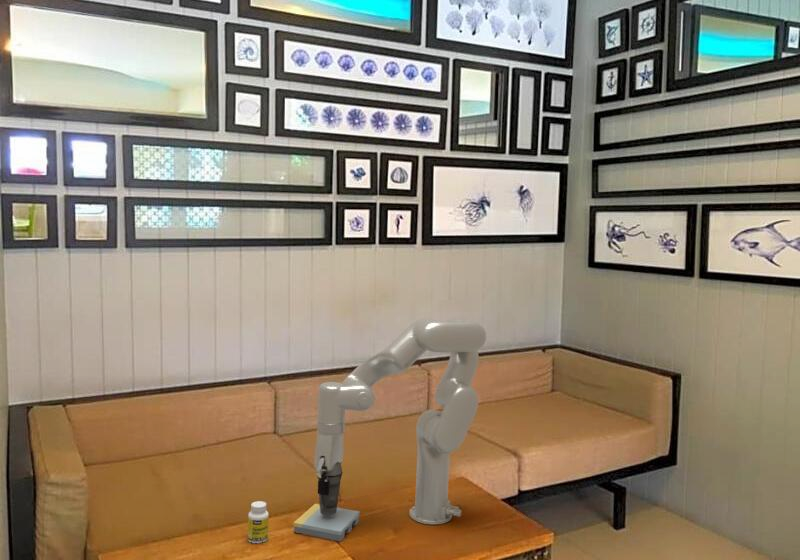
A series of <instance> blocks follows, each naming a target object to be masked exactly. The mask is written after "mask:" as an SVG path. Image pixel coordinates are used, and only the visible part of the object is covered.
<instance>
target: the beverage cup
mask: <svg viewBox="0 0 800 560" xmlns="http://www.w3.org/2000/svg"><path fill="white" fill-rule="evenodd" d="M341 464H342V463H341ZM341 464H340V463H339V462H337V463H336V464H335V466H334V468H333V469H332V470H331V471H330V474H329V479H328V481H330V482H329V495H321V494H318V500H319V503H318V504H320V513H321V514H322V515H326V516H331V515H334V514H336V510H337V507H338V503H339V495H340V487H341V479H342V476H343V467H342V465H341ZM323 469H327V467H323ZM322 472H323V474H324V475H325V476H326V472H324V471H322ZM316 477H317V476H316ZM317 479H318V477H317Z"/></svg>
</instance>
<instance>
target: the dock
mask: <svg viewBox="0 0 800 560" xmlns="http://www.w3.org/2000/svg"><path fill="white" fill-rule="evenodd" d="M360 513H361V512H360V511H359V510H354V509H353V510H352V509H347V508H342V507H338V506H337V510H336V514H334V515H331V516H326V515H322V514H321V513H320V503H314V504H313V505H312V506H311V507H310V508H308V509H307V511H305V512H303V514H302V515H301V516H299V517H298V518H297V519H296V520H295V521H294V522H293V533H295V532H296V533H295V534H300V533H301V535H305V534H306V535H305V536H310V537H316V538H320V539H326V540H331V541H335V542H339V543H341V542H342V541H344V539H345V534H349V533H350V532H351V531H352V530H353V529H352V528H353V526H355V527H356V526H357V525H358V524H359V523H360Z"/></svg>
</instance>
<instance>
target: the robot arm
mask: <svg viewBox="0 0 800 560" xmlns="http://www.w3.org/2000/svg"><path fill="white" fill-rule="evenodd" d="M486 341H487V333H486V330H485V328H484V327H483V325H481V324H480V323H478V322H476V321H473V320H471V319H468V318H465V317H461V316H455V317H451V318H450V319H448V320H447V321H446V322H445V321H443V322H442V321H437V320H434V319H431V318H428V317H419V318H418V319H416V320H415V321H414V322H412V323H411V324H410V325H409V326H408V327H407V328H406V329H405V330H404V331H403V332H401V334H399V335H398V337H396V338H395V339H394V340H392V342H391V343H390V344H389V345H388V346H386V348H384V349H382V350H381V351H380V352H378V353H376V354H374V355H373V356H371V357H369V358H367V359H366V360H364V361H363V362H362V363H360V364H359V365H358V366H357V367H356V368H355V369H354V370H352V371H351V372H350V373H349V374H348V375H347V376H346V377H345V378H344V380H343V382H342V383H341V382H336V381H327V382H323V383H321V384H320V385H319V386H318V392H317V394H318V397H317V400H318V402H317V403H318V404H317V426H316V427H317V431H316V433H317V436H316V443H315V449H314V450H315V451H314V463H313V465H314V466H313V467H314V470H315V473H316V477H318V478H317V494H318V495H319V494H321V495H329V482H330V481H328V479H329V474H330V471H331V470H332V469H333V468H334V466H335V464H336V463H337V462H339V463H340V464H342V462H343V460H344V434H345V427H346V426H345V424H346V422H345V421H346V411H356V412H363V411H367V410H369V409H370V408H371V407H372V406H373V405H374V403H375V401H376V394H375V392H374V390H373V389H372V387H373V385H375V384H376V383H378V382H379V381H381V380H382V379H384V378H386V377H388V376H392V375H398V374H401V373H403V372H405V371H407V370H408V369H409V368H410V367H411V366H412V365H413V364H414V363H415V362H416V361H417V360H418V359H419V358H420V357H422V355H424V354H425V353H426V352H427V351H429V352H433V353H450V355H449V360H448V363H447V365H446V367H445V369H444V372H443V374H442V376H441V379H440V381H439V382H438V384H437V387H436V389H435V392H434V400H435V401H436V403H437V404H438V405H439V406H440V408H443V409H442V411H440V410H437V409H428V410H425V411H424V412H423V413H421V414H420V415H419V417H418V419H417V422H416V426H415V429H416V430H415V431H416V432H415V433H416V444H417V445H416V446H417V448H416V449H417V458H416V461H417V462H416V476H415V479H416V480H415V495H414V496H415V499H414V501H415V502H414V505H413V506H412V507H410V509H409V514H408V515H409V517H410V518H411V519H412V520H414V521H415V522H416V523H417V522H418V523H421V524H423V525H442V524H446V523H448V522H449V521H451V520H452V517H453V516H455V517H459V518H460V517H461V515H462V510H461V509H460V507H459V506H453V505H451V501H450V499H448V497H449V496H448V495H449V479H450V478H449V475H450V457H451V456H450V454H451V453H453V452H455V451H456V450H458V449H459V447H461V445H462V444H463V442H464V440H465V438H466V436H467V433H468V431H469V429H470V427H471V425H472V423H473V421H474V418H475V416H476V414H477V411H478V407H479V396H478V393H477V392H476V389H474V387H473V386H471V384H472V382H473V380H474V377H475V374H476V372H477V370H478V364H479V355H480V354H479V350H480V349H481V348H482V347H483V346H484V345H485V344H486ZM323 467H327V469H323ZM322 471H324V472H326V476H325V475H324V474H323V472H322Z"/></svg>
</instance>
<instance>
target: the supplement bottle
mask: <svg viewBox="0 0 800 560" xmlns="http://www.w3.org/2000/svg"><path fill="white" fill-rule="evenodd" d="M269 515H270V514H269V512H268V511H267V503H266V502H265V501H261V500H260V501H259V500H257V501H253V502H252V503H251V505H250V511H249V512H248V515H247V516H248V517H247V537H246V538H247V541H248V542H249V543H251V542H252V543H251V544H255V543H257V544H262V542H263V543H265V542H266V541H267V540H268V537H269V520H270V519H269V518H270V517H269Z"/></svg>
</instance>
